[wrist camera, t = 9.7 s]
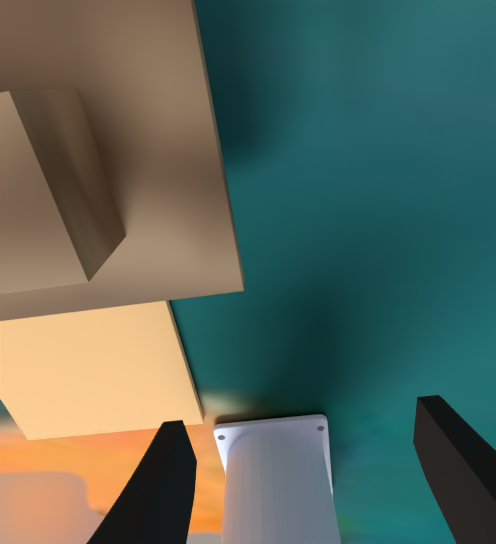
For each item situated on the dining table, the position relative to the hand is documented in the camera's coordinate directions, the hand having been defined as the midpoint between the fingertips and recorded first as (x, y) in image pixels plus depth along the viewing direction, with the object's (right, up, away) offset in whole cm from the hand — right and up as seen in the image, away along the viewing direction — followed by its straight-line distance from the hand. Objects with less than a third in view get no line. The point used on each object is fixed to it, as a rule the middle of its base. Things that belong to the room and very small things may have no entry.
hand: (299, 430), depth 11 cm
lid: (-8, +9, +2) cm, 12 cm away
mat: (-12, 0, +12) cm, 17 cm away
